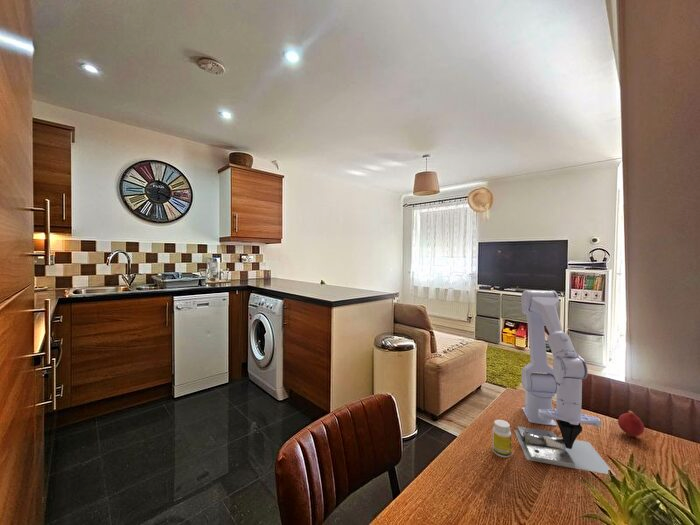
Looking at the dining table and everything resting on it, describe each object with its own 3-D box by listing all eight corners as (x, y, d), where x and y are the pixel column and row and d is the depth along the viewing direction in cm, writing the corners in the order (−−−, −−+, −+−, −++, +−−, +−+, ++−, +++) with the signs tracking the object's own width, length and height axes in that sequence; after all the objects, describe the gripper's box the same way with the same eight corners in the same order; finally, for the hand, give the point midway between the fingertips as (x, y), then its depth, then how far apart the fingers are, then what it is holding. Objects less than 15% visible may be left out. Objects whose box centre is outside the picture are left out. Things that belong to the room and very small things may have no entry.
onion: (632, 431, 93) (633, 406, 93) (649, 442, 88) (650, 416, 87) (613, 430, 94) (613, 405, 94) (628, 441, 88) (628, 415, 88)
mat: (514, 430, 93) (514, 430, 93) (588, 442, 88) (588, 442, 88) (527, 460, 80) (527, 459, 80) (616, 476, 74) (616, 475, 74)
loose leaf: (522, 440, 88) (522, 430, 88) (561, 447, 85) (561, 436, 85) (531, 460, 79) (531, 449, 79) (575, 468, 76) (575, 456, 76)
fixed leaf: (515, 429, 94) (515, 419, 94) (553, 435, 91) (553, 425, 90) (523, 447, 85) (523, 436, 85) (565, 454, 82) (566, 443, 82)
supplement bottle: (513, 459, 80) (514, 429, 80) (495, 456, 81) (495, 427, 81) (507, 448, 85) (508, 419, 85) (490, 445, 86) (490, 417, 86)
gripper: (544, 402, 81) (543, 450, 81) (607, 410, 77) (606, 461, 77) (536, 391, 88) (535, 435, 88) (593, 398, 84) (592, 444, 84)
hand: (567, 446), depth 83 cm, fingers closed
